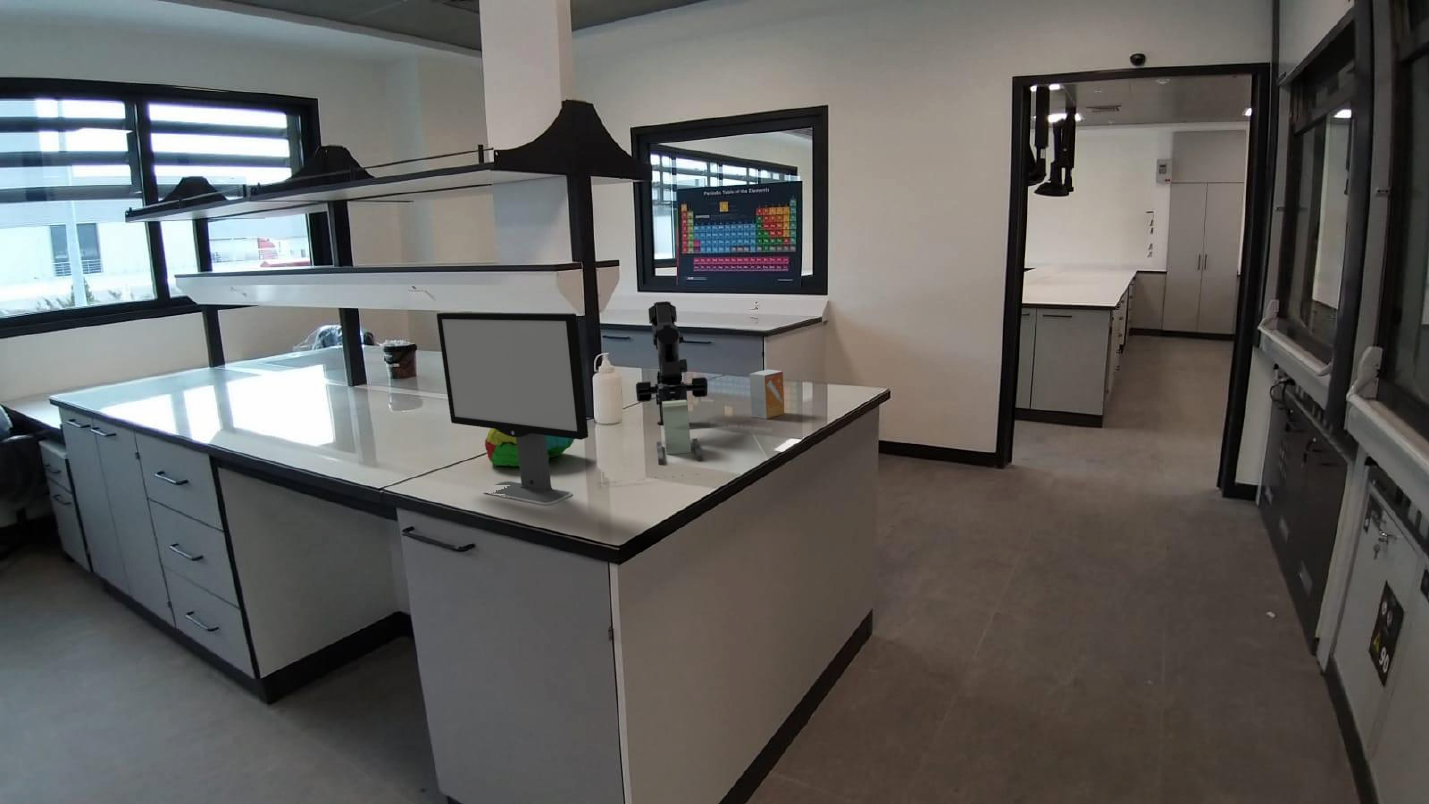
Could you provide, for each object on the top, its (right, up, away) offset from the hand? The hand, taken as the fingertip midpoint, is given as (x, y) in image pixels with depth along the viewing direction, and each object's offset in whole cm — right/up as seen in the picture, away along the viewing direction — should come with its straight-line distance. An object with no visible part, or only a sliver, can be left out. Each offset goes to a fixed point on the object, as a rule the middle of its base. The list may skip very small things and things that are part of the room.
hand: (674, 416), depth 202 cm
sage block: (+1, -8, -7) cm, 11 cm away
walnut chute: (+2, -10, -10) cm, 14 cm away
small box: (+26, 0, +29) cm, 39 cm away
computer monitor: (-31, -17, -29) cm, 46 cm away
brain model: (-36, -11, -3) cm, 38 cm away
